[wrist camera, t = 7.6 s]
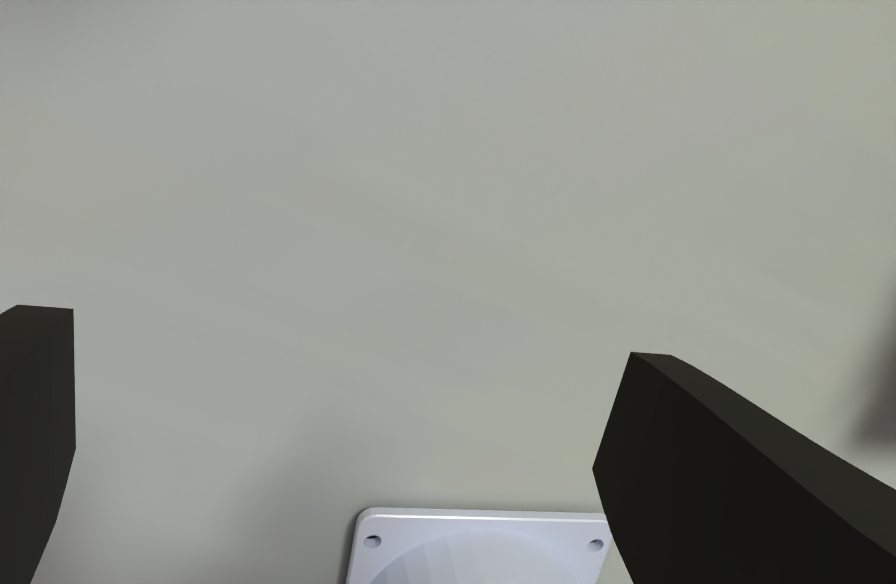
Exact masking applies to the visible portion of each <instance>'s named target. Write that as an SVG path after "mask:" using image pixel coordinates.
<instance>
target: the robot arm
mask: <svg viewBox="0 0 896 584" xmlns="http://www.w3.org/2000/svg"><path fill="white" fill-rule="evenodd" d="M75 449H76V434H75V375H74V317H73V309H67V308H55V307H42V306H29V305H16V306H14V307H12V308H10V309H8V310H7V311H5V312H3V313H2V314H0V584H30V583H31V580H32V578H33V576H34V573H35V571H36V568H37V566H38V564H39V561H40V559H41V556H42V554H43V552H44V549H45V547H46V544H47V542H48V540H49V537H50V535H51V532H52V530H53V527H54V525H55V522H56V520H57V516H58V512H59V509H60V505H61V502H62V498H63V495H64V491H65V488H66V484H67V480H68V476H69V472H70V468H71V464H72V461H73V457H74V453H75ZM592 470H593V474H594V477H595V481H596V485H597V488H598V492H599V496H600V499H601V503H602V506H603V509H604V513H605V514H602V513H575V512H537V511H499V510H461V509H423V508H385V507H375V508H369V509H367V510H364V511H363V512H362V513H361V514H360V515H359V516H358V519H357V522H356V527H355V533H354V539H353V544H352V550H351V556H350V561H349V567H348V573H347V578H346V584H596V582H597V579H598V576H599V573H600V571H601V568H602V565H603V562H604V560H605V557H606V554H607V551H608V548H609V546H610V543H611V540H612V537H613V539H614V541H615V543H616V546H617V548H618V550H619V552H620V555H621V557H622V559H623V561H624V563H625V566H626V568H627V570H628V572H629V574H630V577H631V579H632V581H633V583H634V584H896V490H895V489H894V488H892V487H890V486H888V485H886V484H884V483H883V482H881V481H879V480H877V479H876V478H874V477H872V476H871V475H869V474H867V473H865V472H864V471H862V470H860V469H859V468H857V467H855V466H853V465H852V464H850V463H848V462H846V461H845V460H843V459H841V458H840V457H838V456H836V455H834V454H833V453H831V452H830V451H828V450H826V449H825V448H823V447H821V446H820V445H818V444H817V443H815V442H813V441H812V440H810V439H808V438H807V437H805V436H804V435H802V434H800V433H799V432H797V431H796V430H794V429H792V428H791V427H789V426H788V425H786V424H785V423H783V422H781V421H780V420H778V419H777V418H775V417H774V416H772V415H771V414H769V413H767V412H766V411H764V410H763V409H761V408H760V407H758V406H757V405H755V404H753V403H752V402H750V401H749V400H747V399H746V398H744V397H742V396H741V395H739V394H738V393H736V392H735V391H733V390H732V389H730V388H728V387H727V386H725V385H724V384H722V383H720V382H719V381H717V380H715V379H714V378H712V377H711V376H709V375H707V374H706V373H704V372H702V371H701V370H699V369H697V368H695V367H694V366H692V365H690V364H688V363H686V362H684V361H682V360H680V359H678V358H676V357H674V356H672V355H664V354H651V353H638V352H631V353H630V356H629V359H628V362H627V365H626V368H625V371H624V374H623V377H622V380H621V383H620V386H619V389H618V392H617V395H616V398H615V401H614V404H613V407H612V410H611V413H610V416H609V419H608V422H607V425H606V428H605V431H604V434H603V437H602V441H601V444H600V447H599V450H598V453H597V456H596V459H595V462H594V465H593V468H592ZM371 535H376V536H377V537H376V538H373V539H367V537H368V536H371ZM596 539H597V540H596ZM593 540H596V541H594V542H591V541H593ZM590 542H591V543H590Z"/></svg>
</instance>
